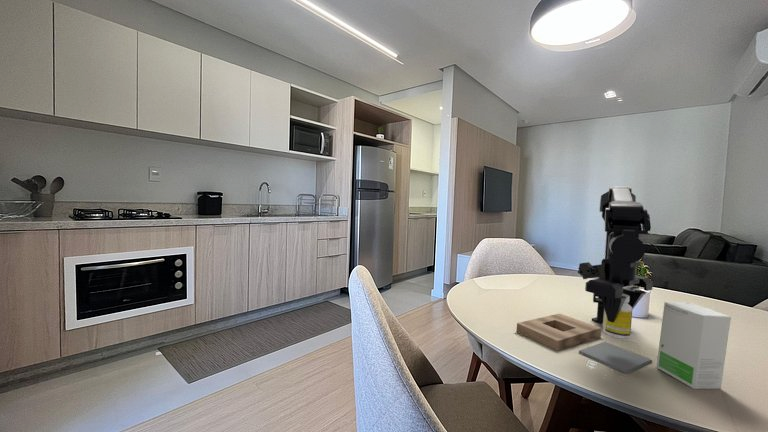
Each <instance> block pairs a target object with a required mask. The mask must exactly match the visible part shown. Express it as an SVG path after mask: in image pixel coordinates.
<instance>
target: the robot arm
mask: <svg viewBox="0 0 768 432" xmlns="http://www.w3.org/2000/svg"><path fill="white" fill-rule="evenodd" d="M632 191H633V190H632V187H629V186H612V187H609V188H608V191H607V192H605V193H603V194H601V195H600V201H599V212H600V213H601V218H602V219H603V221H604V232H605V249H604V258H603V259H602V260H601V262H600V264H594V265H592V263H590V262H589V261H588V262H581V263H579V264H578V270H577V274H579V275H580V276H581V277H582V279H583V280H588V279H590V280H588V281H587V282H585V288H584V291H585V292H588V293H592V302H593V303H597V311H596V317H592V318H591V321H594V322H596V323H599V324H602V325H603V316H604V309H605V312H606V316H607V319H608V321H609V322H614V321H615V319H616V318H617V316H618V314H619V312H620V310H621V308H622V306H623V304H624V302H625V300H626V298H627V297H625V296H622V294H626V295H629V296H630V299H629V300H630V301H629V303H628V304H629V305H630V306H631V307H632V311H633V310H634V309H635V307H636V306H637V305H638V303H639V302H640V301H641V300H642V298H643V297H644V296H646V294H647V292H648V291H652V290H653V284H654V281H652V280H651V279H650V278H649V277H646V276H643V275H637V270H638V269H637V267H641V264H642V262H641V261H639V260H641V259H642V258H643V257H644V255H645V254H646V245H645V244H644V243H643V241H642V240H641V239H639V238H640V237H639V235H648V233H649V232H651V229H652V226H651V224H652V223H651V217H650V214H649V213H648V210H647V209H646V208H645V209H644V205H643V204H642V203H641V202H637V201H636V199H637V197H636V196H637V195H635V194H634V193H632ZM593 278H594V279H593ZM640 288H643V290H644V291H643V290H640Z"/></svg>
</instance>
